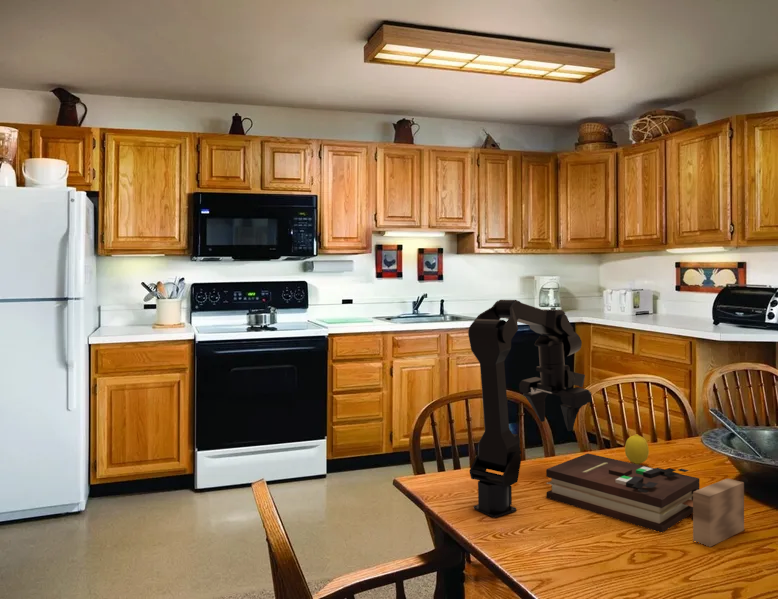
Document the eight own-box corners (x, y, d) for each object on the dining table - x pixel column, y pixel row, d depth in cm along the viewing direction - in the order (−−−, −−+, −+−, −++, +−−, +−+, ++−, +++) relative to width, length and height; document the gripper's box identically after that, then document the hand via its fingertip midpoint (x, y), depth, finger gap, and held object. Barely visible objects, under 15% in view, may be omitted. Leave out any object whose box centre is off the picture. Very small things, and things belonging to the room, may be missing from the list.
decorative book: (581, 446, 145) (714, 475, 123) (581, 478, 145) (714, 512, 123) (533, 464, 133) (671, 499, 110) (533, 498, 133) (671, 541, 110)
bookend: (709, 547, 106) (709, 496, 106) (693, 541, 109) (692, 491, 109) (744, 530, 113) (743, 482, 113) (727, 524, 116) (727, 478, 115)
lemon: (650, 464, 154) (650, 432, 153) (646, 470, 149) (646, 438, 149) (627, 461, 156) (627, 430, 156) (623, 467, 152) (622, 435, 152)
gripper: (607, 361, 139) (610, 427, 140) (549, 351, 155) (553, 410, 157) (571, 370, 133) (575, 438, 135) (515, 358, 150) (520, 419, 151)
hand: (555, 425), depth 145 cm, fingers open, 9 cm apart
